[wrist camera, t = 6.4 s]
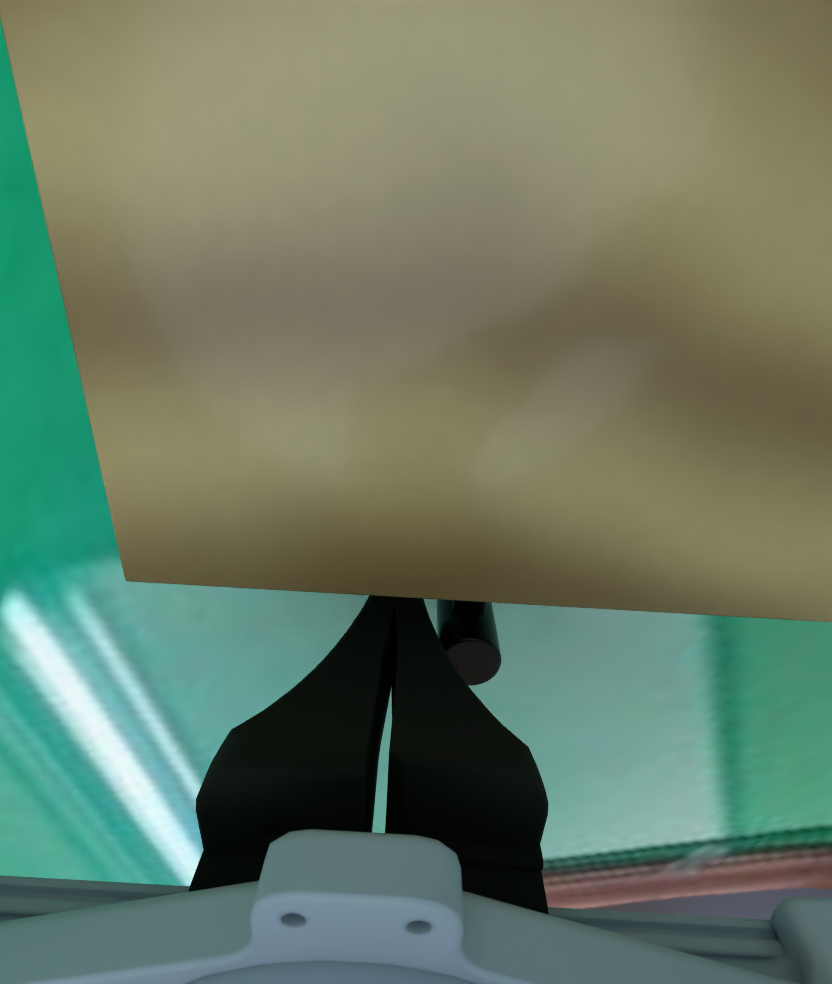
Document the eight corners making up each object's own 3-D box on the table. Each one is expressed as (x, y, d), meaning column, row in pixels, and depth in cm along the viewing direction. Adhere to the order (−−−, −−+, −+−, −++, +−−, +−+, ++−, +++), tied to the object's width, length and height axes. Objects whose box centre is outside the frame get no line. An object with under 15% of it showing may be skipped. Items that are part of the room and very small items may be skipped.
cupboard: (735, 499, 16) (887, 626, 11) (225, 470, 16) (124, 582, 11) (878, 97, 12) (1251, -26, 7) (179, 54, 12) (-29, -105, 6)
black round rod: (659, 611, 17) (718, 704, 13) (412, 596, 17) (409, 686, 13) (699, 484, 15) (780, 556, 12) (421, 468, 15) (418, 535, 12)
